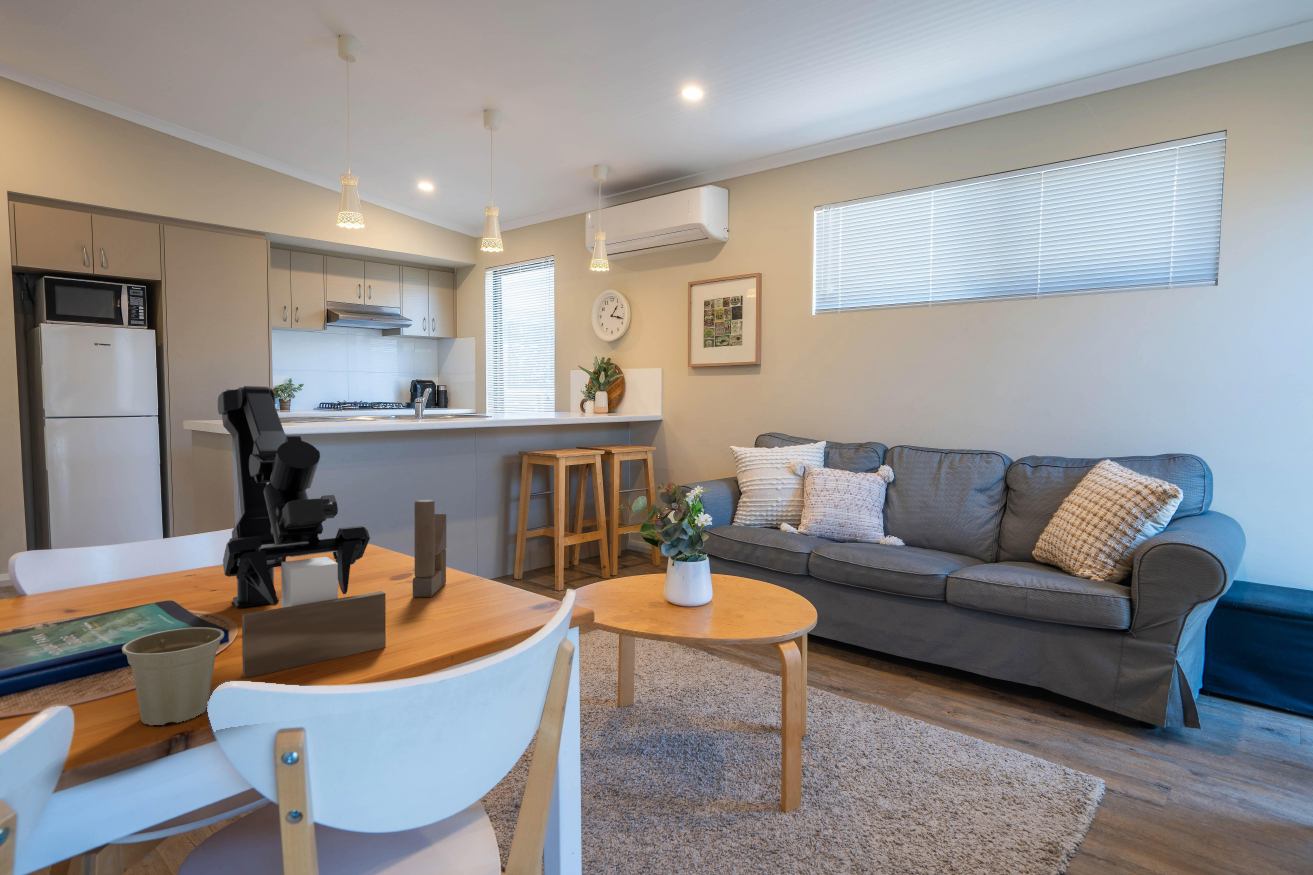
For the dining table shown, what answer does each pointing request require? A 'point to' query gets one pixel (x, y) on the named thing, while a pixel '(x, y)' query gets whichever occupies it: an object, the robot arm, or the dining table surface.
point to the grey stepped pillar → (429, 549)
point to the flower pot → (173, 672)
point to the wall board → (312, 632)
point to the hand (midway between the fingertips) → (311, 598)
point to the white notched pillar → (309, 581)
